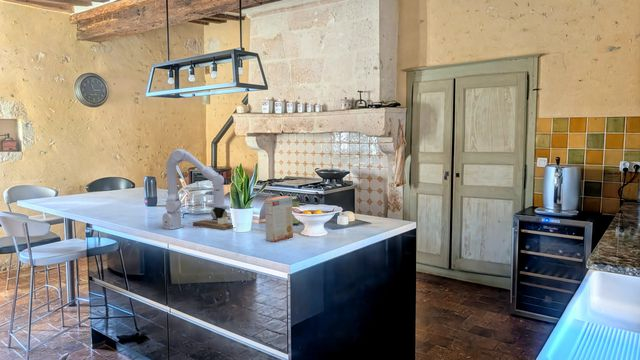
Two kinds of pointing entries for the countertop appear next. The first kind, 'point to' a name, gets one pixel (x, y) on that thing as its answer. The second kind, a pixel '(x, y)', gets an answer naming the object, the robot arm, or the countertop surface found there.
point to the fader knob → (223, 220)
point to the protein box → (295, 204)
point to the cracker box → (278, 218)
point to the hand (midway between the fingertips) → (219, 221)
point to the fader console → (212, 224)
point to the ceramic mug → (222, 216)
